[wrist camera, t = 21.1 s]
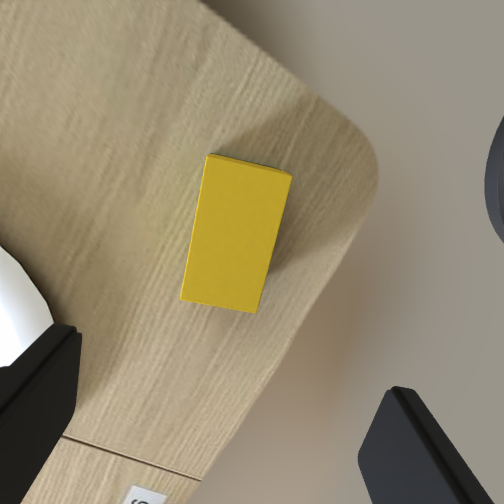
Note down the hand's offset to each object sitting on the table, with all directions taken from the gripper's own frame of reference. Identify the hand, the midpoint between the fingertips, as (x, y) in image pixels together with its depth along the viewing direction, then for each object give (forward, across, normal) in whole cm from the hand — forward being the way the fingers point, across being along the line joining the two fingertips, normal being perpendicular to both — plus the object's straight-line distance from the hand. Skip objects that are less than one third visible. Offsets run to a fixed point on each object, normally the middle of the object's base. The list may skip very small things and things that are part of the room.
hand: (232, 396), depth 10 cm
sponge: (+16, +1, -2) cm, 16 cm away
